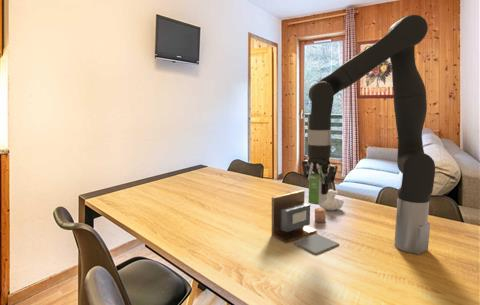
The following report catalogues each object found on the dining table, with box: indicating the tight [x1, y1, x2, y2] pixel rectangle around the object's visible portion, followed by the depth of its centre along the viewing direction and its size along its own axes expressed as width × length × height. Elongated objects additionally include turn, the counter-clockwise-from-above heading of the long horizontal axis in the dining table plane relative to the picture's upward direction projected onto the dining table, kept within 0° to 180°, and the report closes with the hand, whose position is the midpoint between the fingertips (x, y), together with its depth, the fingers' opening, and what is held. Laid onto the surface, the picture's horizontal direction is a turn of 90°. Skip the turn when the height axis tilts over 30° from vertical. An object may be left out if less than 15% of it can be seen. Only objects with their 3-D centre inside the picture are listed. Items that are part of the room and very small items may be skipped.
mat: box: [293, 233, 340, 256], centre depth 106 cm, size 10×12×1 cm
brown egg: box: [314, 207, 327, 224], centre depth 127 cm, size 4×4×5 cm
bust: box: [318, 188, 345, 212], centre depth 140 cm, size 12×8×11 cm
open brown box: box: [271, 189, 318, 244], centre depth 114 cm, size 8×16×15 cm, turn 124°
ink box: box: [307, 165, 327, 206], centre depth 102 cm, size 7×4×13 cm, turn 140°
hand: (318, 192), depth 103 cm, fingers closed on ink box, 4 cm apart
